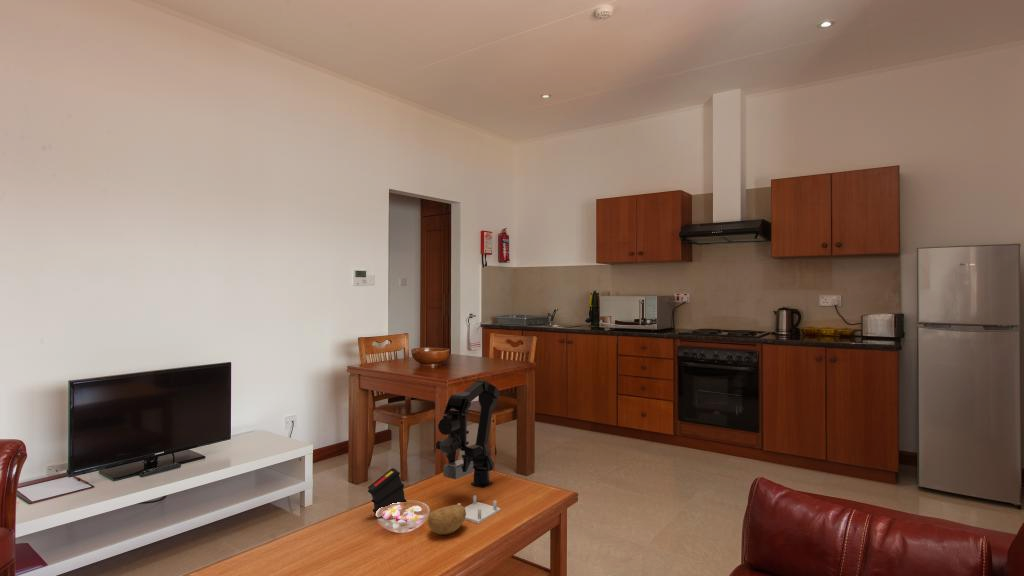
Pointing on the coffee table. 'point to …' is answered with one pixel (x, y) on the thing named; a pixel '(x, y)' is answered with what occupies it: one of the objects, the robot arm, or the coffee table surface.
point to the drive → (456, 469)
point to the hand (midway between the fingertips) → (458, 470)
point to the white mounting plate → (480, 511)
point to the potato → (446, 519)
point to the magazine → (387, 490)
